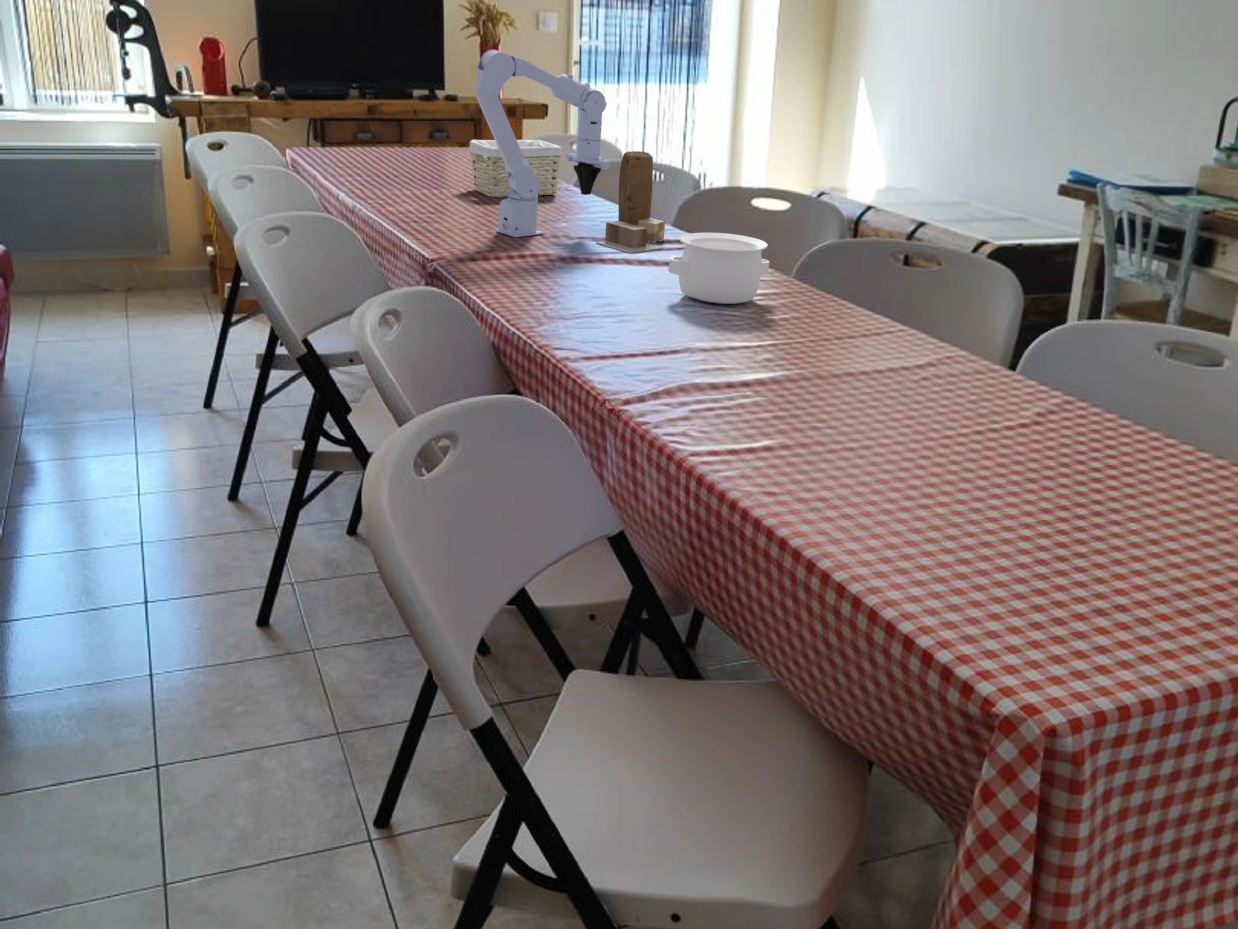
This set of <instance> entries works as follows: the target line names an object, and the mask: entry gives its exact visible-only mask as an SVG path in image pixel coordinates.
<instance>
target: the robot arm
mask: <svg viewBox="0 0 1238 929" xmlns="http://www.w3.org/2000/svg"><path fill="white" fill-rule="evenodd" d="M476 69H477V70H476V71H477V74H476V75H477V76H476V83H475V98H476V100H477V102H478V104H479V106H480V108H481V111H482V113H483V116H484V118H485V120H486V122H487V125H488V127H489V129H490V132H491V134H492V136H493V140H495V141H496V144H497V146H498V148H499V150H500V153H501V155H502V157H503V160H504V162H505V169H506V171H507V174H508V185H509V187H510V188H511V192H510V194H509V197H506V198H504V199H502V200H501V201H500V203H499V205H498V214H497V217H498V218H497V226H498V227H497V229H496V230H495V232H496V233H497V232H498V233H500V234H504V235H507V236H511V237H512V238H513V237H514V238H519V237H527V236H528V237H529V236H536V235H537V236H538V235H544V234H545V232H544V231H541V230H537V228H538V227H537V226H538V204H539V199H538V198H539V195H537V194H538V193H539V191H540V188H541V183H540V180H539V178H538V177H537V176H536V175H535V174H534V173H533V172H532V170H531V168H530V166H529V165H528V163H527V161H526V160H525V158H524V156H523V154H522V152H521V149H520V147H519V145H518V142H517V140H518V139H517V138H516V136H515V133H514V131H513V128H512V126H511V123H510V121H509V119H508V117H507V114H506V112H505V109H504V108H503V105H502V103H501V100H500V98H499V96H500V93H501V90H502V89H503V86H504V85H505V84H506V83H507V82H508V81H509V79H510V78H511V77H514V78H516V77H517V78H518V77H522V76H524V77H525V78H528V79H530V80H532V81H534V82H537V83H538V84H540V85H543V86H545V87H547V88H549V89H550V90H551V93H552V96H553V97H554V98H557V99H558V100H561V101H563V102H565V103H567V104H569V105H570V106H572V107H575V108H578V109H579V116H578V117H579V119H578V128H577V129H578V130H577V131H578V132H577V146H576V147H577V148H576V149H577V150H576V153H573V152H568V153H567V152H566V157H565V158H566V159H565V162H573V163H577V165H573V169H574V172H575V173H576V177H577V179H578V184H579V189H580V194H581V195H584V196H586V195H587V196H588V195H589V196H590V195H591V194H592V189H593V188H594V184H595V181H596V180H597V177H598V176H599V174H600V173H601V171H602V170H603V171H604V170H605V171H606V170H610V169H611V161H609V160H606V159H604V158H602V156H600V155H601V154H600V153H601V141H602V140H601V137H602V123H603V121H602V119H603V113H604V111H605V110H606V108H607V104H608V103H607V102H606V98H605V96H604V94H603V93H602V92H601V91H599V90H596V89H594V88H592V87H591V85H590V84H589V83H587V82H586V83H583V82H580V81H579V80H576V79H575V78H574V75H572V74H570V73H567V74H565V73H561V74H558V75H554V73H553V74H552V73H551V72H549V71H547V70H545V69H543V68H541V67H539V66H538V65H536V64H535V63H533V62H531V61H529V60H527V59H524V58H521V57H518V56H515V55H512V54H508V53H506V52H504V51H499V50H497V49H489V50H487V51H485V52H484V53H483V54H482V55H481V57H480V59H479V61H478V64H477V66H476Z"/></svg>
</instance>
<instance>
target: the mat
mask: <svg viewBox="0 0 1238 929" xmlns="http://www.w3.org/2000/svg"><path fill="white" fill-rule="evenodd" d="M596 243H598V244H597V245H599V244H602V245H601V246H602V247H603V246H604V247H606V246H607V248H611V249H614V250H618V251H621V252H624V253H626V254H627V253H628V254H634V253H642V252H648V251H649V252H650V251H657V250H663V249H665V247H664V246H661V245H657V244H655V243H650V242H646V247H639V248H630V247H627V246H623V245H620V244H616V243H613V242H609V241H606V240H605V241H598V242H597V241H596Z"/></svg>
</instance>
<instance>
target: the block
mask: <svg viewBox="0 0 1238 929" xmlns="http://www.w3.org/2000/svg"><path fill="white" fill-rule="evenodd" d="M653 176H654V157H653V155H651V154H650V153H649V152H646V151H637V150H636V151H628V150H627V151H626V152H625V153H623V156H622V159H621V162H620V166H619V176H618V221H622V222H625V223H629V224H633V225H637V226H638V221H639V220H643V219H647V218H650V219H651V212H652V211H651V210H652V200H653V183H654V182H653V180H654V179H653Z"/></svg>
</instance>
